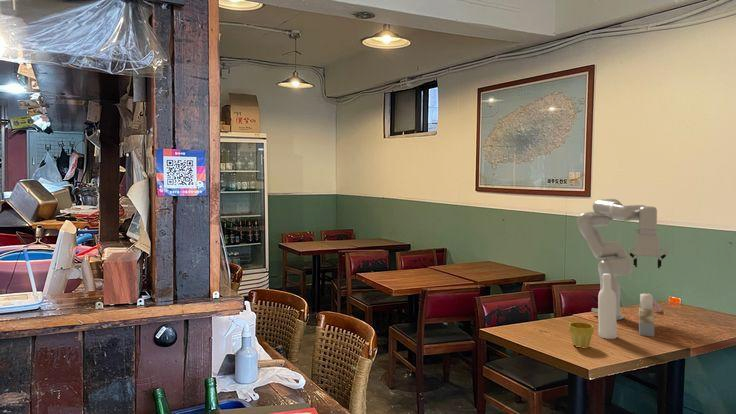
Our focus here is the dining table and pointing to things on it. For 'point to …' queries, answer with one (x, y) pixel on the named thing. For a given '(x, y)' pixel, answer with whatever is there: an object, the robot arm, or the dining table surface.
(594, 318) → the dining table surface
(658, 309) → the lily
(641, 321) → the tower top
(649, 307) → the cylinder
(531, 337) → the dining table surface
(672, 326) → the dining table surface
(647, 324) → the tower base
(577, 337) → the plant pot
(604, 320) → the bottle
